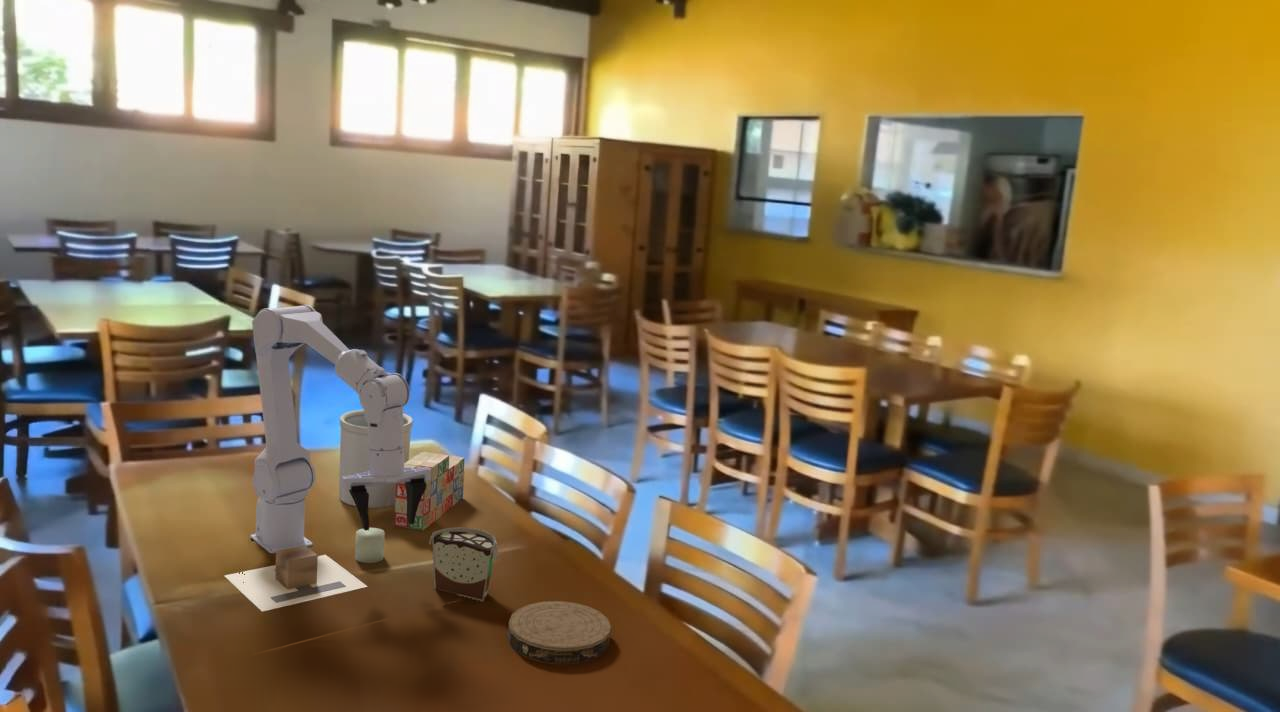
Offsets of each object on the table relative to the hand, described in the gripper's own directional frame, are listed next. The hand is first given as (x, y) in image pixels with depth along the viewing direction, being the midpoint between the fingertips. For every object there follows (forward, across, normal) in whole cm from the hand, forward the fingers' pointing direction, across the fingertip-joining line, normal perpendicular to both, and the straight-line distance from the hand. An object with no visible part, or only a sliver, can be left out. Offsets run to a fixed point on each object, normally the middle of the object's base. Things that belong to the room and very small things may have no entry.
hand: (388, 525), depth 168 cm
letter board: (+9, -14, +5) cm, 18 cm away
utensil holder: (+8, +8, +44) cm, 45 cm away
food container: (+12, +12, -6) cm, 18 cm away
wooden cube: (+9, -14, +5) cm, 18 cm away
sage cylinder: (+10, -1, +12) cm, 15 cm away
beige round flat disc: (+14, +19, -27) cm, 36 cm away
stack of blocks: (+9, +17, +33) cm, 38 cm away
